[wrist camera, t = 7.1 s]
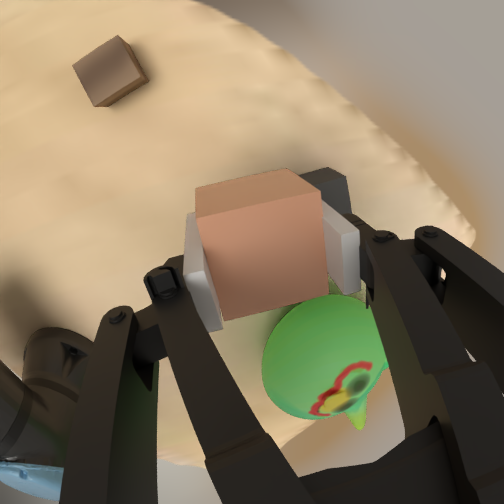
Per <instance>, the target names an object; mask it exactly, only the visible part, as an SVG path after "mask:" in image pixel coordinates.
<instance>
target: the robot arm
mask: <svg viewBox="0 0 504 504" xmlns="http://www.w3.org/2000/svg"><path fill="white" fill-rule="evenodd" d="M322 210H323V217H322V222H323V231H324V240H325V250H326V261H327V272H328V274H329V275H330V277H331V278H332V279H333V281H334V282H335V283H336V285H337V286H338V288H339V289H340V290H341V292H342V293H343V294H344V296H345V295H348V294H352V293H355V292H358V291H361V279H362V280H363V281H364V282H365V284H366V309H368V308H369V304H370V307H371V310H372V313H373V316H374V320H375V323H376V326H377V329H378V332H379V335H380V338H381V342H382V345H383V348H384V352H385V355H386V358H387V362H388V365H389V369H390V372H391V376H392V380H393V383H394V387H395V390H396V394H397V398H398V402H399V406H400V410H401V414H402V419H403V423H404V427H405V440H403V441H402V442H401V443H400V444H398V445H397V446H396V447H395V448H393V449H392V450H391V451H389V452H388V453H387V454H385V455H384V456H383V457H381V458H380V459H378V460H377V461H375V462H373V463H368V464H362V465H355V466H348V467H339V468H330V469H326V470H322V471H319V472H316V473H313V474H310V475H306V476H302V477H299V478H298V476H297V475H296V474H295V472H294V471H293V469H292V468H291V466H290V465H289V463H288V462H287V460H286V459H285V457H284V456H283V454H282V453H281V451H280V449H279V448H278V446H277V445H276V443H275V442H274V440H273V439H272V437H271V436H270V435H269V434H268V433H266V432H265V431H264V429H263V428H262V426H261V425H260V423H259V421H258V420H257V418H256V417H255V415H254V413H253V412H252V410H251V408H250V406H249V405H248V403H247V401H246V400H245V398H244V396H243V395H242V393H241V391H240V389H239V388H238V386H237V384H236V382H235V381H234V379H233V377H232V375H231V374H230V372H229V370H228V368H227V366H226V365H225V363H224V361H223V359H222V357H221V356H220V354H219V352H218V350H217V348H216V346H215V345H214V343H213V341H212V339H211V337H210V335H209V332H213V331H217V330H221V329H223V326H222V319H221V312H220V305H219V300H218V297H217V294H216V290H215V287H214V284H213V281H212V277H211V274H210V270H209V267H208V263H207V259H206V256H205V252H204V248H203V245H202V241H201V237H200V233H199V230H198V226H197V222H196V212H194V213H191V214H187V220H186V233H185V248H184V255H180V256H176V257H172V258H169V259H168V260H167V261H166V262H165V264H164V265H163V266H159V267H157V268H154V269H152V270H151V271H150V272H148V273H147V274H146V275H145V277H144V280H143V281H144V283H145V286H146V288H147V291H148V293H149V295H150V298H151V300H152V304H151V305H150V306H148V307H146V308H144V309H142V310H140V311H138V312H135V313H134V311H133V309H132V308H131V307H130V306H119V307H115V308H113V309H112V310H109V311H108V312H107V313H106V314H105V315H104V316H103V318H102V320H101V322H100V325H99V328H98V331H97V334H96V338H95V341H94V344H93V343H92V342H91V341H89V340H88V339H86V338H85V337H83V336H81V335H79V334H77V333H74V332H72V331H69V330H65V329H61V328H44V329H41V330H38V331H37V332H35V333H34V334H33V335H32V336H31V338H30V339H29V341H28V343H27V345H26V347H25V350H24V367H23V374H22V381H21V380H20V379H19V378H18V377H17V376H16V375H15V374H14V373H13V372H12V371H11V370H10V369H9V368H8V367H7V366H6V365H5V364H4V363H3V362H2V361H1V360H0V481H2V482H3V483H5V484H6V485H8V486H10V487H12V488H15V489H17V490H19V491H22V492H24V493H27V494H30V495H33V496H36V497H40V498H44V499H49V500H54V501H59V504H158V494H157V402H158V378H159V360H161V359H163V358H165V357H167V356H168V357H169V360H170V363H171V366H172V369H173V372H174V375H175V378H176V381H177V384H178V387H179V390H180V393H181V395H182V398H183V401H184V404H185V406H186V409H187V412H188V414H189V417H190V420H191V422H192V425H193V427H194V430H195V432H196V435H197V437H198V440H199V442H200V445H201V447H202V449H203V452H204V454H205V458H206V459H205V465H206V468H207V470H208V473H209V475H210V477H211V480H212V482H213V484H214V486H215V489H216V491H217V493H218V495H219V497H220V499H221V502H222V504H504V397H503V395H502V393H503V394H504V273H502V272H501V271H500V270H499V269H497V268H496V267H495V266H493V265H492V264H491V263H489V262H488V261H487V260H485V259H484V258H482V257H481V256H480V255H478V254H477V253H475V252H474V251H473V250H471V249H470V248H468V247H467V246H465V245H464V244H463V243H461V242H460V241H458V240H457V239H455V238H454V237H452V236H451V235H449V234H448V233H446V232H445V231H443V230H442V229H439V228H437V227H433V226H423V227H419V228H417V229H416V230H415V239H407V240H399V238H398V237H397V235H396V234H394V233H392V232H390V231H384V230H378V231H376V230H375V229H373V228H372V227H371V226H369V225H368V224H366V223H365V222H364V221H363V220H362V219H360V218H359V217H358V216H356V215H353V214H350V213H345V214H341V215H340V214H339V213H338V212H336V211H335V210H334V209H333V208H332V207H330V206H329V205H328V204H327V203H325V202H324V201H323V200H322ZM442 269H443V270H444V271H445V273H446V277H445V280H444V279H443V278H441V270H442ZM465 348H466V349H467V351H468V352H469V353H470V354H471V355H472V356H473V357H474V359H475V360H476V362H473V361H472V360H471V359H470V358H469V355H468V353H467V351H466V349H465Z"/></svg>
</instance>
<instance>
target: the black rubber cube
mask: <svg viewBox="0 0 504 504" xmlns="http://www.w3.org/2000/svg"><path fill="white" fill-rule="evenodd" d="M298 176H299V177H301V178H302V179H304V180H305V181H307V182H308V183H310V184H311V185H313V186H314V187H316V188H317V189H318V190H320V191H321V200H323V201H324V202H325V203H327V204H328V205H329V206H330V207H332V208H333V209H334V210H335V211H336V212H338V213H339V214H340V215H341V214H345V213H350V214H352V210H351V203H350V197H349V191H348V185H347V180H346V176H344V175H342V174H340V173H338V172H337V171H335V170H333V169H331V168H329V167H326V168H322V169H319V170H315V171H312V172H308V173H305V174H302V175H298Z"/></svg>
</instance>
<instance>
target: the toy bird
mask: <svg viewBox="0 0 504 504" xmlns="http://www.w3.org/2000/svg"><path fill="white" fill-rule="evenodd" d="M388 367H389V365H388V362H387V358H386V355H385V352H384V348H383V345H382V342H381V338H380V335H379V332H378V329H377V326H376V323H375V320H374V316H373V313H372V310H371V308H370V307H369V308H368V309H366V304H365V303H363V302H362V301H360V300H358V299H355V298H353V297H349V296H344V295H338V294H330V295H324V296H321V297H317V298H313V299H310V300H307V301H305V302H303V303H301V304H299V305H298V306H296V307H295V308H293V309H292V310H291V311H290V312H288V313H287V314H286V315H285V316H284V317H283V318H282V319H281V321H280V322H279V323H278V324H277V325H276V327H275V328H274V330H273V331H272V333H271V335H270V337H269V339H268V341H267V344H266V346H265V349H264V353H263V358H262V380H263V384H264V387H265V390H266V392H267V394H268V396H269V397H270V399H271V400H272V401H273V402H274V404H275V405H276V406H278V407H279V408H280V409H281V410H283V411H284V412H286V413H288V414H290V415H292V416H295V417H298V418H303V419H311V420H315V419H324V418H329V417H332V416H335V415H338V414H340V413H342V412H345V414H346V415H347V416H348V418H349V419H350V421H351V422H352V424H353V425H354V426H355V428H356V429H357V430H361V429H363V427H364V426H365V421H366V402H367V394H368V393H369V392H370V390H371V389H372V388H373V387H374V385H375V384H376V382H377V380H378V379H379V377H380V375H381V373H382V371H383V370H385V369H386V368H388Z"/></svg>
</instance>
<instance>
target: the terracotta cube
mask: <svg viewBox="0 0 504 504" xmlns="http://www.w3.org/2000/svg"><path fill="white" fill-rule="evenodd" d="M195 204H196V222H197V226H198V230H199V233H200V237H201V241H202V245H203V248H204V252H205V256H206V259H207V263H208V267H209V270H210V274H211V277H212V281H213V284H214V287H215V290H216V294H217V297H218V300H219V305H220V309H221V312H222V316H223V319H224V321H227V320H232V319H236V318H240V317H244V316H248V315H252V314H256V313H260V312H264V311H268V310H272V309H276V308H280V307H284V306H288V305H291V304H295V303H299V302H302V301H306V300H310V299H313V298H317V297H321V296H324V295H328V294H329V286H328V272H327V261H326V250H325V240H324V231H323V222H322V217H323V210H322V200H321V191H320V190H318V189H317V188H316V187H314V186H313V185H311V184H310V183H308V182H307V181H305V180H304V179H302V178H301V177H299V176H298V175H296V174H295V173H293V172H292V171H290V170H289V169H287V168H286V169H281V170H275V171H270V172H265V173H261V174H256V175H251V176H246V177H242V178H237V179H232V180H228V181H224V182H219V183H215V184H211V185H206V186H202V187H198V188H195Z"/></svg>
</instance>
